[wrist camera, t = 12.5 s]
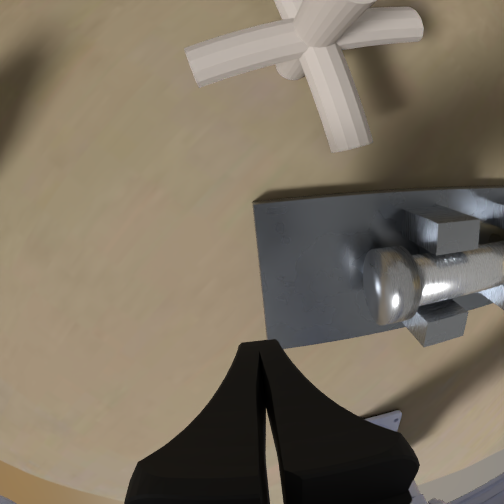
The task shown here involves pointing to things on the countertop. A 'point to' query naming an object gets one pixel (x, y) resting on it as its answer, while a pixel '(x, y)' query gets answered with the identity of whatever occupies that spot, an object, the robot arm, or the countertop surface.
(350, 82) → the white crossed rods piece
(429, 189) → the metal support fixture
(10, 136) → the countertop surface
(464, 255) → the shaft
